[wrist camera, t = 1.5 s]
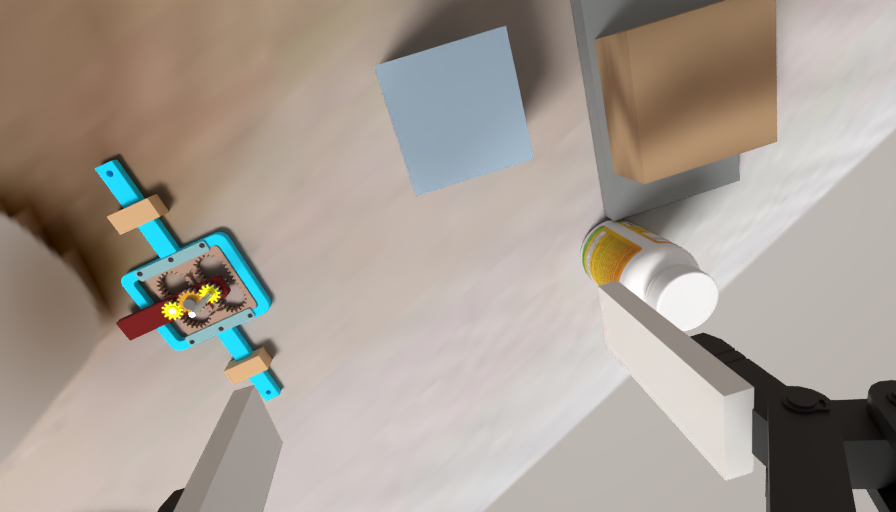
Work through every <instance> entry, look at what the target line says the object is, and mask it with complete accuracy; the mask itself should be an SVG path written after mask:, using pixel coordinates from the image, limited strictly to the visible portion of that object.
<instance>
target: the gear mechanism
mask: <svg viewBox="0 0 896 512" xmlns="http://www.w3.org/2000/svg"><path fill="white" fill-rule="evenodd" d="M95 170H96V171H97V172H98V174H99V175H100V176H101V178H102V179H103V180H104V182H105V183H106V185H107V186H108V187H109V189H110V190H111V191H112V193H113V194H114V195H115V197H116V198H117V199H118V201H119V202H120V204H121V205H122V206H123V208H124V209H122V210H120V211H118V212H116V213H113V214H111V215H109V216H107V218H108V219H109V220H110V222H111V223H112V224H113V226H114V227H115V228H116V230H117V231H118V232H119V234H120V235H121V234H123V233H125V232H128V231H130V230H132V229H134V228H136V227H138V228H139V229H140V231H141V232H142V233H143V235H144V236H145V238H146V239H147V240H148V242H149V243H150V244H151V246H152V247H153V248H154V250H155V251H156V253H157V254H158V255H159V257H160V258H159V259H157V260H154V261H152V262H150V263H148V264H146V265H143V266H141V267H139V268H137V269H135V270H133V271H130V272H129V273H127V274H126V275H124V276H123V277H122V280H121V283H122V285H123V287H124V288H125V290H126V291H127V292H128V293H129V295H130V296H131V297H132V298H133V300H134V301H135V302H136V303H137V305H138V306H139V307H140V308H141V310H139V311H137V312H135V313H133V314H130V315H128V316H126V317H124V318H122V319H120V320H119V321H118V322H117V323H116V324H117V325H118V327H119V328H120V329H121V330H122V331H123V333H124V334H125V335H126V336H127V337H128V339H129V340H133V339H135V338H137V337H139V336H141V335H143V334H146V333H148V332H150V331H152V330H154V329H157V330H158V331H159V332H160V334H161V335H162V336H163V337H164V339H165V340H166V341H167V343H168V344H169V345H170V346H171V347H172V348H173V349H175V350H179V351H180V350H185V349H187V348H189V347H191V346H193V345H196V344H198V343H200V342H202V341H204V340H207V339H209V338H211V337H213V336H215V335H218V337H219V338H220V339H221V341H222V342H223V344H224V345H225V346H226V348H227V349H228V350H229V352H230V353H231V354H232V356H233V357H234V360H232V361H230V362H229V363H228V365H227V367H226V369H225V370H224V372H225V374H226V375H227V376H228V377H229V379H230V380H231V381H232V383H233V384H237V383H239V382H241V381H243V380H245V379H248V378H249V379H250V380H251V382H252V383H253V384H254V385H255V387H256V388H257V390H258V391H259V392H260V394H261V395H262V397H263V398H264V399H265V401H268V400H270V399H272V398H274V397H276V396H279V395H280V392H281V389H280V388H279V386H278V385H277V384H276V382H275V381H274V379H273V378H272V377H271V375H270V374H269V372H268V371H267V369H269V366H270V364H271V361H272V358H271V357H270V356H269V354H268V353H267V351H266V350H265V348H264V347H261V348H259V349H256V350H254V351H253V350H252V348H251V347H250V346H249V344H248V343H247V341H246V340H245V339H244V337H243V336H242V334H241V333H240V332H239V330H238V329H237V327H236V326H237V325H240V324H242V323H244V322H246V321H248V320H251V319H253V318H255V317H257V316H259V315H262V314H264V313H266V312H267V311H268V310H269V308H270V306H271V300H270V298H269V296H268V295H267V293H266V292H265V290H264V289H263V287H262V286H261V284H260V283H259V281H258V280H257V278H256V277H255V275H254V274H253V272H252V271H251V269H250V267H249V266H248V264H247V263H246V261H245V260H244V258H243V257H242V255H241V254H240V252H239V251H238V249H237V248H236V246H235V245H234V243H233V242H232V240H231V239H230V237H229V236H228V235H227V234H226V233H224V232H216V233H213V234H211V235H209V236H207V237H205V238H202V239H200V240H198V241H196V242H194V243H191V244H189V245H187V246H185V247H183V248H180V247H179V246H178V244H177V243H176V242H175V240H174V239H173V237H172V236H171V235H170V233H169V232H168V230H167V229H166V227H165V226H164V225H163V223H162V222H161V220H160V219H159V218H158V217H160V216H162V215H164V214H166V213H168V212H169V211H168V209H167V208H166V206H165V205H164V204H163V202H162V201H161V199H160V198H159V196H158V195H157V194H155V195H153V196H151V197H148V198H146V199H145V198H144V197H143V195H142V194H141V192H140V191H139V190H138V188H137V187H136V185H135V184H134V182H133V181H132V180H131V178H130V177H129V175H128V174H127V173H126V171H125V170H124V168H123V167H122V166H121V164H120V163H119V161H118V160H117V159H116V160H112V161H109V162H107V163H105V164H103V165H101V166H99V167H96V168H95ZM112 172H113V174H112ZM209 255H210V257H213V256H215V259H216V258H218V257H219V261H222V260H223V262H222V264H226V266H225V267H224V268H229V269H228V270H227V272H231V273H230V276H232V275H233V278H232V279H236V281H235V283H239V284H238V285H237V287H240V286H241V288H240V289H239V290H243V292H242V294H245V295H244V298H245V299H244V301H245V302H244V303H243V304H242V305H240V306H239V307H237V306H236V307H235V308H233V306H232V307H231V308H229V305H227V306H225V303H222V304H221V302H222V300H220V299H222V298H225V297H226V296H227V295H228V294H229V293H230V291H231V289H230V287H229V286H228V284H229V282H226V281H225V280H226V279H227V278H223V277H222V275H221V276H220V275H215V276H214V277H213V276H212V277H211V278H209V279H207V278H205V279H203V277H204V276H205V275H201V273H202V271H198V270H199V269H200V267H198V266H199V265H200V263H199V262H200V259H202V258H204V257H208V256H209ZM172 272H173V274H176V273H177V272H178V275H181V274H183V273H185V274H184V276H185V277H186V278H187V279H186V280H185V281H190V282H189V283H188V285H193V286H192V287H190V288H187V289H185V290H183V291H180V292H179V293H175V294H174V295H168V293H169V291H165V289H166V287H163V286H164V284H162V282H163V281H164V280H162V279H163V278H164V277H165V275H167V274H168V273H169V274H171V273H172ZM138 280H140V281H145V280H146V281H147V282H148V284H149V285H150V286H151V287H152V289H153V290H154V291H155V293H156V294H157V295H158V297H159V298H160V299H161V301H159V302H157V303H154V302H153V300H152V299H151V298H150V297H149V295H148V294H147V293H146V291H145V290H144V289H143V288H142V286H141V285H140V284H139V282H138ZM206 306H208V308H207V310H210V311H209V312H212V313H211V314H210V315H209V317H210V318H209V319H208V321H205V322H204V323H203V322H201V323H200V324H199V322H197V323H196V324H195V323H194V321H192V322H190V320H191V319H186V318H187V317H188V316H185V315H187V314H189V316H190V317H192V318H193V317H195V316H196V315H197V314H198V313H200V312H201V311H202V310H204V308H205V307H206ZM174 320H177V321H178V323H179V324H180V325H181V327H182V328H183V329H184V331H185V332H186V333H187V334H188V336H186V337H181V336H180V335H179V334H178V333H177V331H176V330H175V329H174V328H173V326H172V325H171V324H170V322H172V321H174Z"/></svg>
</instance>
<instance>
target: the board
mask: <svg viewBox="0 0 896 512" xmlns="http://www.w3.org/2000/svg"><path fill="white" fill-rule="evenodd" d="M718 1H721V0H571V7H572V13H573V19H574V25H575V32H576V38H577V44H578V50H579V56H580V63H581V69H582V75H583V81H584V88H585V94H586V100H587V106H588V112H589V119H590V125H591V131H592V137H593V144H594V150H595V156H596V162H597V169H598V175H599V181H600V187H601V193H602V200H603V206H604V212H605V216H606V217H608V218H610V219H612V220H614V221H616V220H619V219H622V218H625V217H628V216H631V215H634V214H638V213H641V212H644V211H647V210H650V209H653V208H656V207H659V206H662V205H665V204H668V203H671V202H675V201H678V200H681V199H684V198H687V197H690V196H693V195H696V194H699V193H702V192H705V191H708V190H712V189H715V188H718V187H721V186H724V185H727V184H730V183H733V182H736V181H739V180H740V174H739V154H737V155H734V156H731V157H728V158H725V159H722V160H719V161H715V162H712V163H709V164H706V165H703V166H700V167H697V168H694V169H691V170H687V171H684V172H681V173H678V174H675V175H672V176H669V177H666V178H663V179H660V180H656V181H653V182H650V183H647V184H643V183H640V182H637V181H634V180H631V179H628V178H625V177H622V176H619V175H616V174H614V169H613V162H612V155H611V148H610V142H609V135H608V128H607V121H606V115H605V108H604V101H603V94H602V87H601V81H600V74H599V67H598V60H597V53H596V47H595V39H598V38H601V37H604V36H608V35H611V34H614V33H617V32H621V31H624V30H627V29H630V28H634V27H637V26H640V25H643V24H646V23H650V22H653V21H656V20H659V19H663V18H666V17H669V16H672V15H676V14H679V13H682V12H685V11H688V10H692V9H695V8H698V7H701V6H705V5H708V4H711V3H714V2H718Z"/></svg>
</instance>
